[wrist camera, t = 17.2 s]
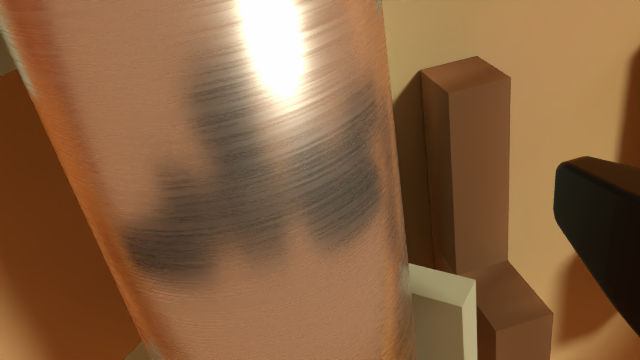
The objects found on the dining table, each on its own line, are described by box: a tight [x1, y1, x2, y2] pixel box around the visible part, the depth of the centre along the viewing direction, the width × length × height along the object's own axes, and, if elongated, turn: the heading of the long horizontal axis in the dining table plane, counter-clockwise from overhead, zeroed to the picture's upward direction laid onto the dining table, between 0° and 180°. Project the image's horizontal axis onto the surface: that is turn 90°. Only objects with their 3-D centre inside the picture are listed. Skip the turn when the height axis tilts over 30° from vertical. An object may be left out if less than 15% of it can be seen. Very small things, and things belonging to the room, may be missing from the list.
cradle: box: [0, 33, 477, 360], centre depth 11 cm, size 8×12×4 cm, turn 10°
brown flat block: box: [420, 56, 553, 360], centre depth 14 cm, size 8×8×4 cm
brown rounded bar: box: [0, 0, 418, 360], centre depth 9 cm, size 15×4×4 cm, turn 10°
